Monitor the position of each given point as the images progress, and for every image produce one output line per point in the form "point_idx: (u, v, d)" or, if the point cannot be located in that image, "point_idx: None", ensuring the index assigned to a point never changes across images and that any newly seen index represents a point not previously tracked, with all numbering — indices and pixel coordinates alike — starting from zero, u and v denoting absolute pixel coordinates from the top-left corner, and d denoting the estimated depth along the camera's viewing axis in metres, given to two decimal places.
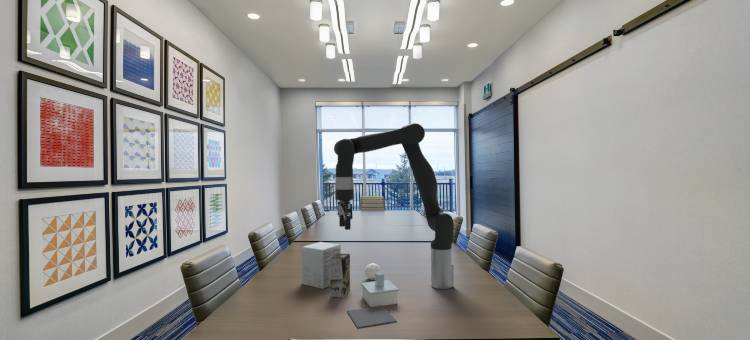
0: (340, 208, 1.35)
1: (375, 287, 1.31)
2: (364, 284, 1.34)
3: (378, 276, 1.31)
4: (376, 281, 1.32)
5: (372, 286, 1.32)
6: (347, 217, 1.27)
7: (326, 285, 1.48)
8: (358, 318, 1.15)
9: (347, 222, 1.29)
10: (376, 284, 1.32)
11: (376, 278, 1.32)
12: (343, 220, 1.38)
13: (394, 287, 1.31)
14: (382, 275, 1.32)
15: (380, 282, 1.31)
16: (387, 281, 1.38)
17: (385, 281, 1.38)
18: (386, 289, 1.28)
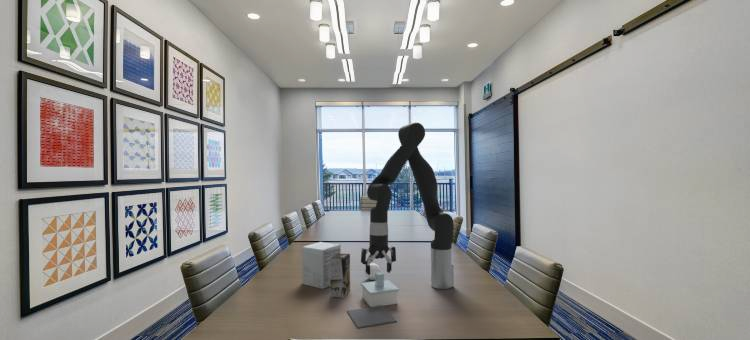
0: None
1: (375, 287, 1.31)
2: (364, 284, 1.34)
3: (378, 276, 1.31)
4: (376, 281, 1.32)
5: (372, 286, 1.32)
6: None
7: (326, 285, 1.48)
8: (358, 318, 1.15)
9: None
10: (376, 284, 1.32)
11: (376, 278, 1.32)
12: None
13: (394, 287, 1.31)
14: (382, 275, 1.32)
15: (380, 282, 1.31)
16: (387, 281, 1.38)
17: (385, 281, 1.38)
18: (386, 289, 1.28)
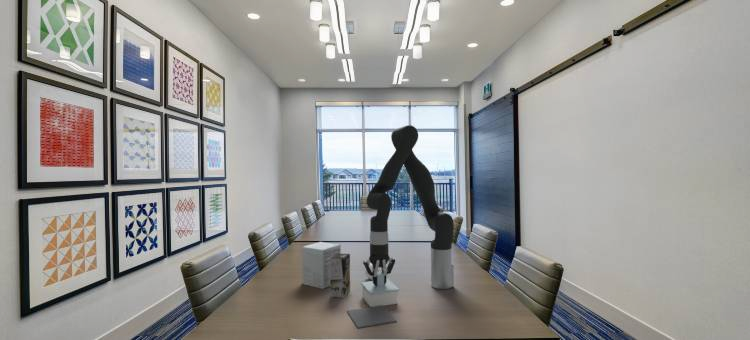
0: (378, 263, 1.31)
1: (375, 287, 1.31)
2: (364, 284, 1.34)
3: (378, 276, 1.31)
4: None
5: (372, 286, 1.32)
6: None
7: (326, 285, 1.48)
8: (358, 318, 1.15)
9: None
10: None
11: None
12: None
13: (394, 287, 1.31)
14: (382, 275, 1.31)
15: (380, 282, 1.31)
16: (387, 280, 1.38)
17: None
18: (386, 289, 1.28)
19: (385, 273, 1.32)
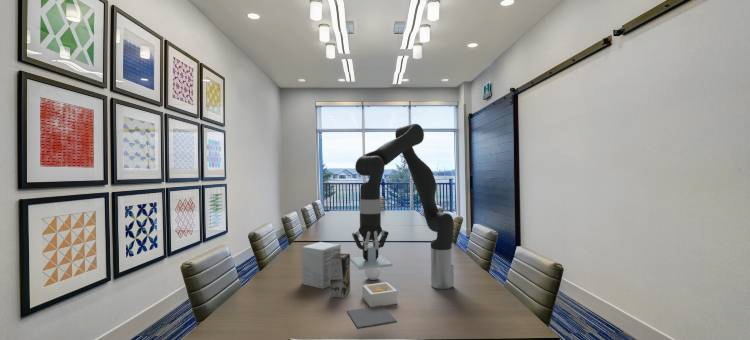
0: None
1: (366, 262, 1.16)
2: (354, 259, 1.20)
3: (369, 249, 1.16)
4: None
5: (362, 261, 1.17)
6: None
7: (326, 285, 1.48)
8: (358, 318, 1.15)
9: None
10: None
11: None
12: None
13: (387, 262, 1.16)
14: (374, 248, 1.17)
15: (371, 257, 1.16)
16: (380, 256, 1.23)
17: None
18: (377, 264, 1.14)
19: (377, 247, 1.17)
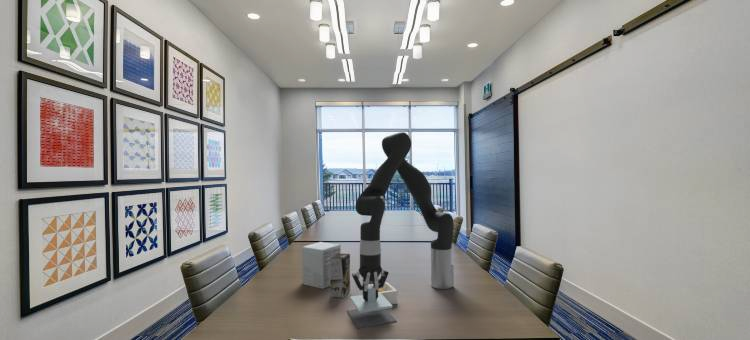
0: None
1: (365, 303, 1.16)
2: (353, 298, 1.20)
3: (369, 290, 1.16)
4: None
5: (362, 301, 1.17)
6: None
7: (326, 285, 1.48)
8: (358, 318, 1.15)
9: None
10: None
11: None
12: None
13: (387, 303, 1.16)
14: (374, 289, 1.17)
15: (371, 298, 1.16)
16: (379, 295, 1.23)
17: None
18: (377, 306, 1.13)
19: (377, 287, 1.17)
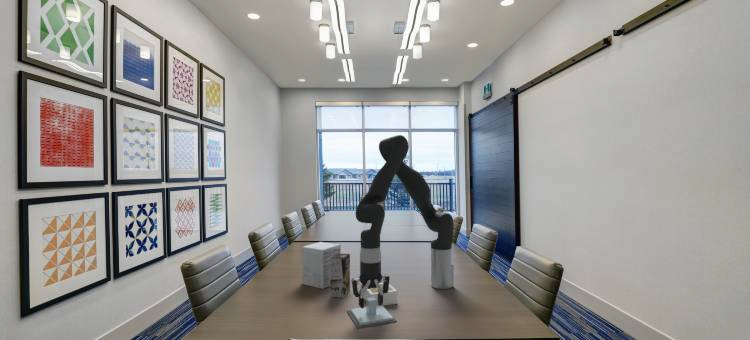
0: None
1: (366, 315, 1.16)
2: (354, 311, 1.20)
3: (370, 302, 1.16)
4: (368, 308, 1.17)
5: (363, 313, 1.17)
6: None
7: (326, 285, 1.48)
8: None
9: None
10: (367, 311, 1.17)
11: (367, 304, 1.17)
12: None
13: (387, 314, 1.16)
14: (374, 301, 1.17)
15: (371, 310, 1.16)
16: (380, 306, 1.23)
17: (378, 306, 1.23)
18: (378, 318, 1.13)
19: (381, 293, 1.18)
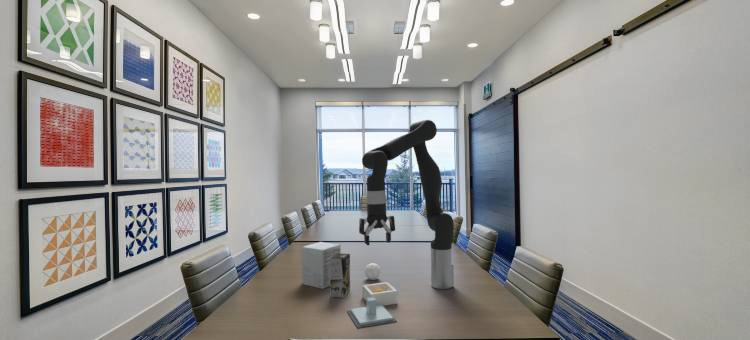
0: None
1: (366, 315, 1.16)
2: (354, 311, 1.20)
3: (370, 302, 1.16)
4: (368, 308, 1.17)
5: (363, 313, 1.17)
6: None
7: (326, 285, 1.48)
8: None
9: None
10: (367, 311, 1.17)
11: (367, 304, 1.17)
12: None
13: (387, 314, 1.16)
14: (374, 301, 1.17)
15: (371, 310, 1.16)
16: (380, 306, 1.23)
17: (378, 306, 1.23)
18: (378, 318, 1.13)
19: (389, 230, 1.29)
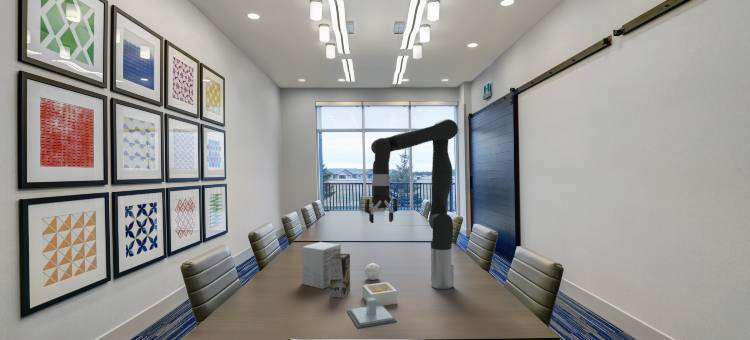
0: None
1: (366, 315, 1.16)
2: (354, 311, 1.20)
3: (370, 302, 1.16)
4: (368, 308, 1.17)
5: (363, 313, 1.17)
6: None
7: (326, 285, 1.48)
8: None
9: None
10: (367, 311, 1.17)
11: (367, 304, 1.17)
12: None
13: (387, 314, 1.16)
14: (374, 301, 1.17)
15: (371, 310, 1.16)
16: (380, 306, 1.23)
17: (378, 306, 1.23)
18: (378, 318, 1.13)
19: (392, 211, 1.42)
